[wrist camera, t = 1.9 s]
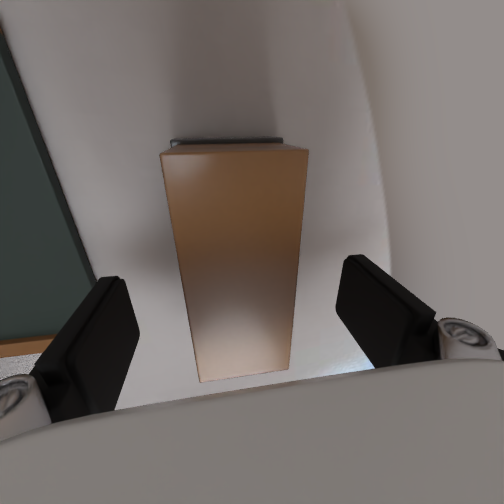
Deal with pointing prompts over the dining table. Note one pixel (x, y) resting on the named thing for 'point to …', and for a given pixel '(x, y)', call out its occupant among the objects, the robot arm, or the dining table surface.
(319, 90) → the dining table surface
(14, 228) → the board
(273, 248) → the eraser
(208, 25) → the dining table surface
